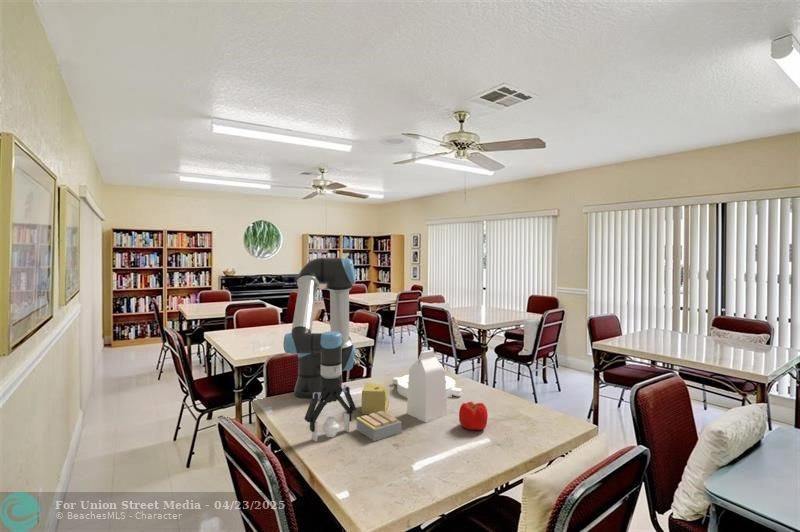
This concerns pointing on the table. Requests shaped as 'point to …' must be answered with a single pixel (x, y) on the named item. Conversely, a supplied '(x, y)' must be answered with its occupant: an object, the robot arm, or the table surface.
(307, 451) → the table surface
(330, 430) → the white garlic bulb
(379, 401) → the cheese
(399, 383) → the white circle with bar
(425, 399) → the milk
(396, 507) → the table surface
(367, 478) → the table surface
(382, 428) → the dock
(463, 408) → the red bell pepper
